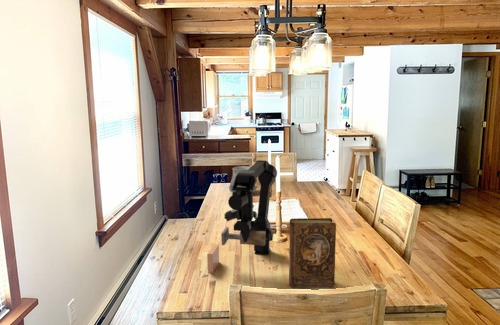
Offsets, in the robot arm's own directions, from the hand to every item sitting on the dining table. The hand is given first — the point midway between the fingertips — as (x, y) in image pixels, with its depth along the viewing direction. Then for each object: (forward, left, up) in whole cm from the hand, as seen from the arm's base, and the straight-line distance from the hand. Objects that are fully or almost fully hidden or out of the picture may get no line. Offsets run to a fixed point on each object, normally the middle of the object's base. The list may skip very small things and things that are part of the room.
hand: (245, 240), depth 151 cm
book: (-26, +9, -12) cm, 31 cm away
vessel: (+24, -125, -12) cm, 127 cm away
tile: (+14, 0, -12) cm, 18 cm away
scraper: (0, 0, -1) cm, 1 cm away
